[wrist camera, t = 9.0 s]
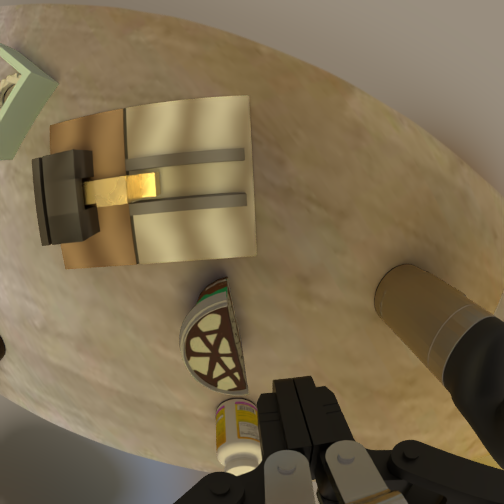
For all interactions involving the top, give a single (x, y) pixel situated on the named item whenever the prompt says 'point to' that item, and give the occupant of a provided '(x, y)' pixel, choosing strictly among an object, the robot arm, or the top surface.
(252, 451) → the supplement bottle
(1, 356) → the vinegar
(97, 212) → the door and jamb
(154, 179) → the wooden t-shaped block
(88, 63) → the top surface
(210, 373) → the food container
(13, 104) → the l-shaped corner panel
